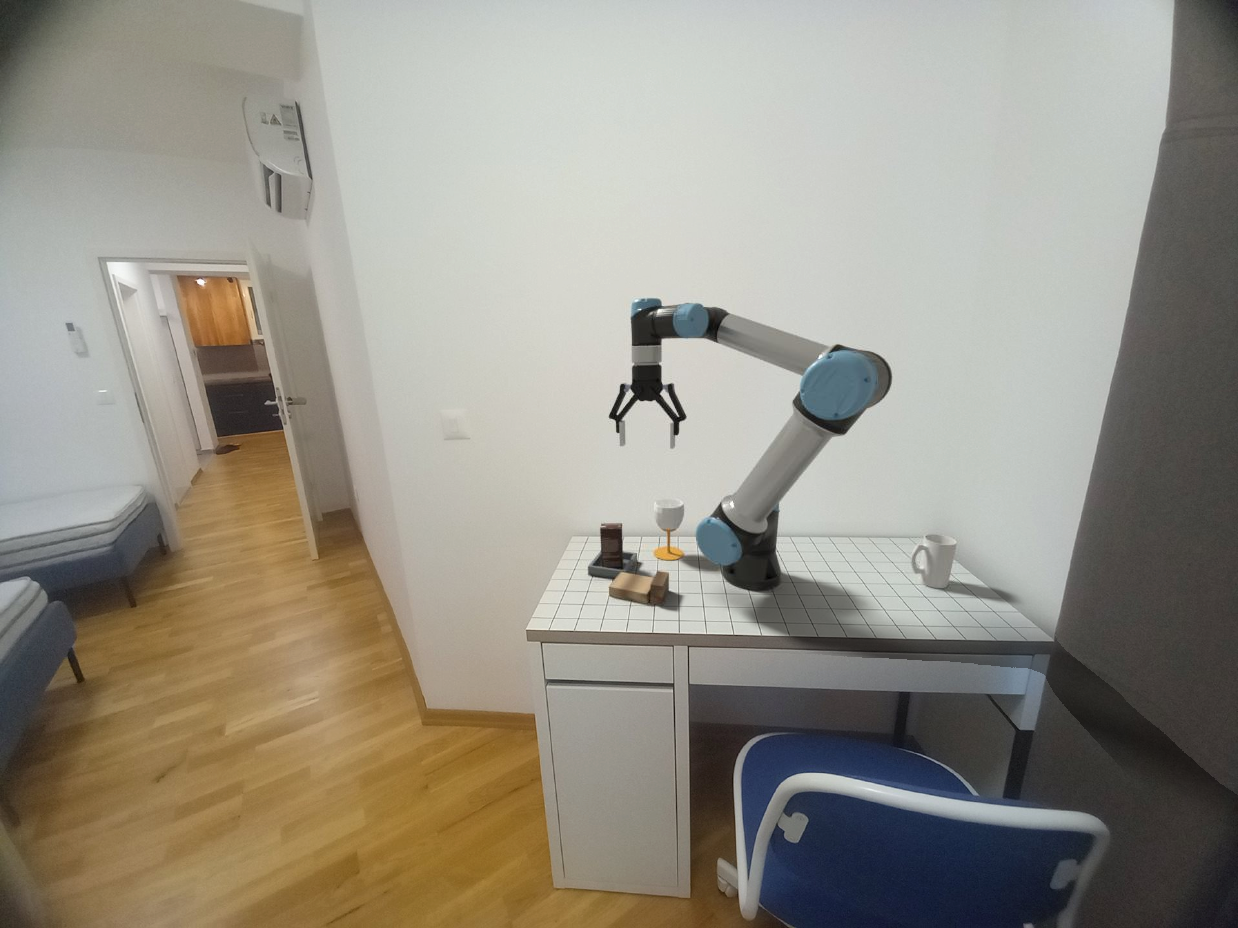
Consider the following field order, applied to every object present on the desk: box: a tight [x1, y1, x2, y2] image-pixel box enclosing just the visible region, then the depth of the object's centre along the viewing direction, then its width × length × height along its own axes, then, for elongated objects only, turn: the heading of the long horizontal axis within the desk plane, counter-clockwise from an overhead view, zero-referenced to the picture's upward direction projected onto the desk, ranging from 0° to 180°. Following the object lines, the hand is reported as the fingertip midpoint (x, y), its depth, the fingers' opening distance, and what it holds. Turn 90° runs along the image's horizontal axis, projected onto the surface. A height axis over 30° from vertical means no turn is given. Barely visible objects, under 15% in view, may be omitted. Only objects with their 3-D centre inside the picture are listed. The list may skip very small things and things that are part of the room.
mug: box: [910, 533, 958, 589], centre depth 113 cm, size 10×7×12 cm, turn 91°
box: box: [599, 522, 624, 568], centre depth 124 cm, size 6×4×12 cm
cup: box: [653, 497, 685, 561], centre depth 132 cm, size 9×9×16 cm
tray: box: [587, 550, 638, 580], centre depth 125 cm, size 11×12×2 cm
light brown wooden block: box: [608, 572, 654, 604], centre depth 113 cm, size 10×8×3 cm
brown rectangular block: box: [649, 570, 670, 606], centre depth 110 cm, size 3×7×5 cm, turn 162°
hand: (647, 446), depth 118 cm, fingers open, 13 cm apart
